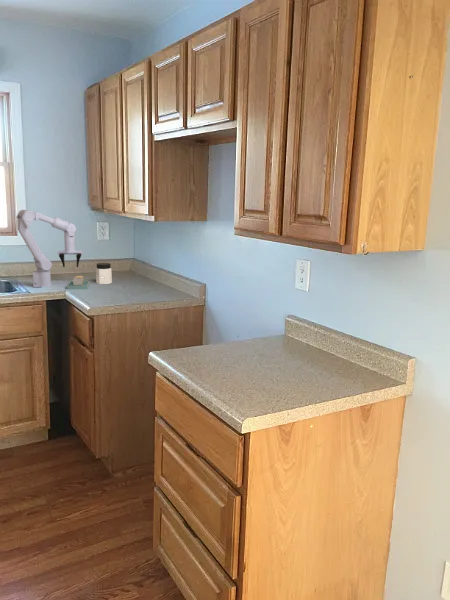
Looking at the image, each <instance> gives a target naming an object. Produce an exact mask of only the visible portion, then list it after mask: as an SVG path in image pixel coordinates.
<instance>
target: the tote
mask: <svg viewBox="0 0 450 600" xmlns="http://www.w3.org/2000/svg"><path fill="white" fill-rule="evenodd" d="M90 284H91V282H90V280H83V286H73V280H69V281H68V284H67V285H66V289H67V290H88V289H89V286H90Z"/></svg>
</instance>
